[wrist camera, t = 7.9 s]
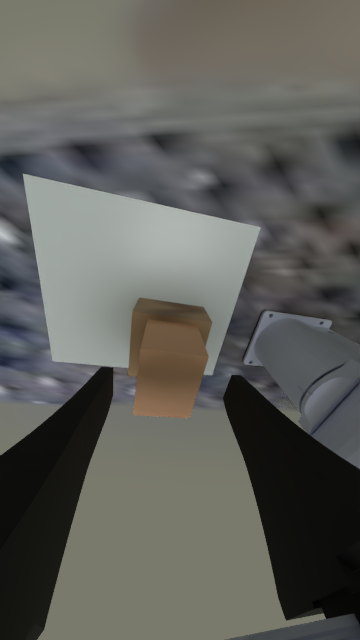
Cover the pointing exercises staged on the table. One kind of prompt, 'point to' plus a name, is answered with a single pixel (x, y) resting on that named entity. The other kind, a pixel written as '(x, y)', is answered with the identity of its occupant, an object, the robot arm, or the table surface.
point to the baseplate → (128, 267)
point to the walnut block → (163, 313)
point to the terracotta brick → (169, 369)
